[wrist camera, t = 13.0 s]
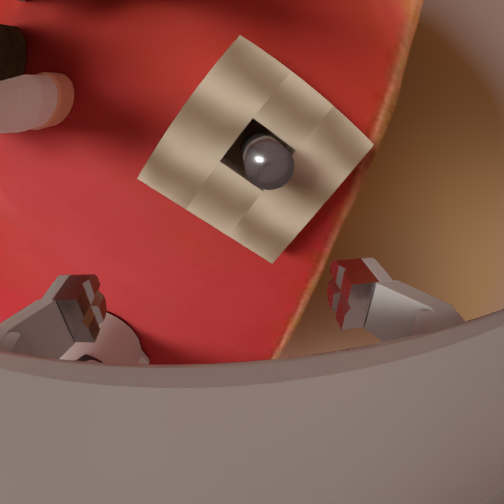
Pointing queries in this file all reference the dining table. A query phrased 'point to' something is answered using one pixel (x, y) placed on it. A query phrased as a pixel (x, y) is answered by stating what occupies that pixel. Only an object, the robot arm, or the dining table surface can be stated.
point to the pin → (266, 161)
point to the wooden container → (12, 52)
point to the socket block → (230, 154)
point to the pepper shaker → (34, 101)
